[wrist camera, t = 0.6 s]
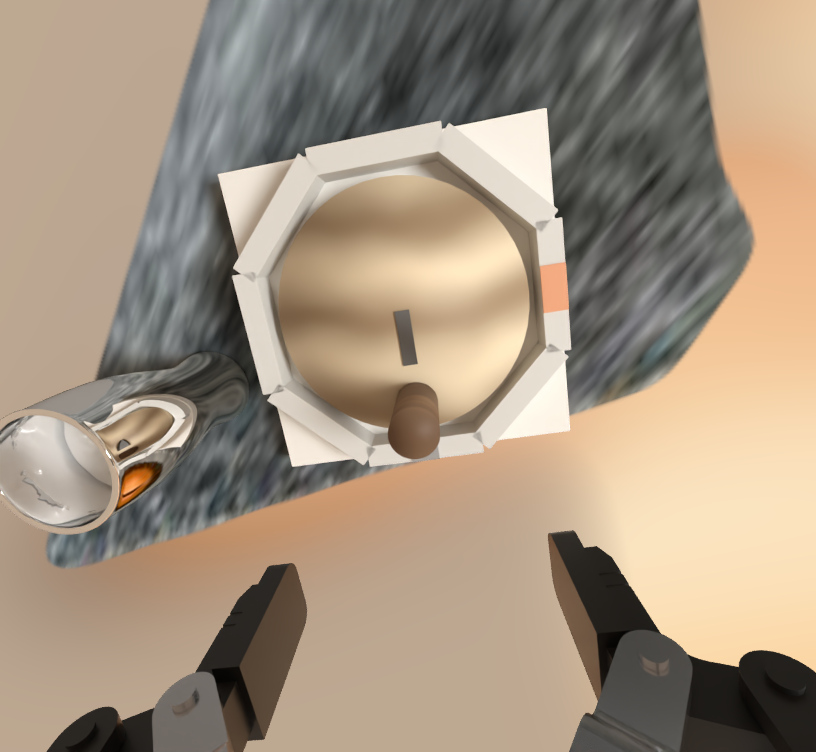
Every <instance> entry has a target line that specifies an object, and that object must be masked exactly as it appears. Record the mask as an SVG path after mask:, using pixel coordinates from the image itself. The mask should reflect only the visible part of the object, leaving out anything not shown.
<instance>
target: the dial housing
mask: <svg viewBox="0 0 816 752" xmlns="http://www.w3.org/2000/svg"><path fill="white" fill-rule="evenodd" d="M305 151H306V157H303V156H301V155H300V154H299V153H298V155H297V157H296V158H295V159H291V160H286V161H281V162H276V163H271V164H266V165H261V166H256V167H251V168H246V169H241V170H237V171H232V172H227V173H222V174H218V177H219V181H220V185H221V189H222V193H223V197H224V201H225V204H226V208H227V212H228V216H229V220H230V224H231V228H232V232H233V236H234V240H235V244H236V248H237V252H238V255H239V258H238V260H237V262H236V263H235V265H234V267H233V269H235V270H236V271H238V272H239V273H240V274H239V275H233V276H232V278H233V282H234V286H235V290H236V293H237V297H238V301H239V305H240V309H241V312H242V316H243V320H244V324H245V328H246V332H247V335H248V339H249V343H250V347H251V351H252V354H253V358H254V362H255V366H256V370H257V374H258V377H259V381H260V385H261V389H262V393H263V395H266V394H271V396H270V397H269V399H268V400H267V401H269V402H270V403H272V404H273V405H275V406H276V407H277V408H278V412H279V416H280V420H281V424H282V428H283V432H284V436H285V440H286V444H287V448H288V451H289V455H290V459H291V463H292V467H294V466H302V465H310V464H317V463H325V462H333V461H340V460H348V459H355V460H357V461H358V462H360V463H361V464H362V465H364V464H365V462H366V461H367V460H368V459H369V464H370V467H372V466H380V465H388V464H395V463H403V462H411V461H413V462H417V461H425V460H432V459H439V458H443V457H450V456H458V455H466V454H474V453H481V452H484V450H483V444H484V445H485V446H486V447H488V448H489V449H490V448H491V447H492V446H493V445H494V444H495V442H496V441H497V440H503V439H510V438H518V437H526V436H533V435H541V434H549V433H557V432H564V431H570V423H569V409H568V395H567V381H566V368H565V360H566V359H567V358H568V356H567V355H566V354H564V350H571V340H570V325H569V311H568V309H569V302H568V287H567V273H566V262H565V253H564V238H563V223H562V217H561V218H556V219H555V217H554V215H555V214H556V212H557V211H558V209H557V208H555V207H554V203H553V189H552V176H551V162H550V148H549V134H548V121H547V108H544V109H539V110H534V111H529V112H524V113H519V114H514V115H509V116H504V117H499V118H494V119H489V120H484V121H479V122H474V123H469V124H465V125H460V126H455V127H454V126H453V125H451V124H450V123H449V124H448V125H447V127H446V128H445V129H442V126H441V121H437V122H432V123H427V124H422V125H418V126H413V127H408V128H403V129H398V130H393V131H388V132H383V133H378V134H373V135H368V136H364V137H359V138H354V139H349V140H344V141H339V142H334V143H329V144H324V145H319V146H314V147H310V148H305ZM394 175H415V176H421V177H427V178H433V179H436V180H439V181H442V182H445V183H448V184H451V185H453V186H455V187H457V188H459V189H461V190H463V191H465V192H467V193H468V194H470V195H471V196H473V197H474V198H476V199H477V200H479V201H480V202H481V203H482V204H483V205H485V206H486V207H487V208H488V209H489V210H490V211H491V212H492V213H493V214H494V215H495V216H496V217H497V218H498V220H499V221H500V222H501V223H502V224H503V225H504V227H505V228H506V230H507V231H508V233H509V234H510V236H511V238H512V239H513V241H514V243H515V245H516V247H517V249H518V251H519V254H520V256H521V258H522V261H523V265H524V268H525V271H526V275H527V281H528V288H529V307H530V309H529V318H528V326H527V330H526V335H525V339H524V342H523V345H522V347H521V350H520V353H519V355H518V358H517V359H516V361H515V363H514V365H513V367H512V369H511V371H510V372H509V373H508V375H507V376H506V378H505V379H504V380H503V382H502V383H501V384H500V385H499V387H498V388H497V389H496V390H495V391H494V392H493V393H492V394H491V395H490V396H489V397H488V398H487V399H485V400H484V401H483V402H482V403H481V404H479V405H478V406H477V407H475V408H473V409H472V410H470V411H469V412H467V413H466V414H464V415H462V416H460V417H458V418H455V419H453V420H451V421H448V422H445V423H442V424H439V425H440V440H439V444H438V446H437V448H436V449H435V450H434V451H433V452H432V453H431V454H430V455H428V456H426V457H424V458H421V459H408V458H405V457H402V456H400V455H399V454H397V453H396V452H395V451H394V450H393V448H392V447H391V445H390V443H389V440H388V429H389V428H384V427H378V426H374V425H371V424H368V423H364V422H361V421H359V420H357V419H354V418H352V417H350V416H348V415H346V414H344V413H343V412H341V411H339V410H338V409H336V408H334V407H333V406H332V405H330V404H329V403H328V402H326V401H325V400H324V399H323V398H321V397H320V396H319V395H318V394H317V393H316V392H315V391H314V390H313V389H312V388H311V386H310V385H309V384H308V383H307V381H306V380H305V379H304V378H303V376H302V375H301V373H300V372H299V370H298V369H297V367H296V365H295V364H294V362H293V360H292V358H291V355H290V353H289V351H288V349H287V346H286V343H285V340H284V337H283V333H282V329H281V323H280V318H279V303H278V297H279V285H280V279H281V274H282V269H283V265H284V263H285V260H286V257H287V254H288V251H289V249H290V247H291V245H292V243H293V241H294V239H295V237H296V235H297V234H298V233H299V231H300V230H301V228H302V227H303V225H304V224H305V223H306V221H307V220H308V219H309V218H310V217H311V216H312V215H313V214H314V213H315V211H316V210H317V209H318V208H319V207H321V206H322V205H323V204H324V203H326V202H327V201H328V200H329V199H330V198H332V197H333V196H335V195H337V194H338V193H340V192H342V191H343V190H345V189H347V188H349V187H351V186H354V185H356V184H358V183H361V182H363V181H367V180H371V179H375V178H378V177H385V176H394Z"/></svg>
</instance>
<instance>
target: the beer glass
mask: <svg viewBox="0 0 816 752" xmlns="http://www.w3.org/2000/svg"><path fill="white" fill-rule="evenodd" d="M248 398H249V384H248V381H247V378H246V375H245V374H244V372H243V370H242V369H241V368H240V366H239V365H238V364H237V363H236V362H235V361H233V360H232V359H231V358H229V357H227V356H225V355H223V354H220V353H217V352H200V353H196V354H194V355H192V356H190V357H188V358H187V359H185V360H184V361H183V362H181V363H180V364H179V365H177V366H176V367H174V368H170V369H164V370H155V371H145V372H136V373H128V374H123V375H117V376H111V377H107V378H103V379H100V380H96V381H93V382H89V383H86V384H83V385H81V386H78V387H75V388H73V389H70V390H67V391H64V392H62V393H60V394H57V395H55V396H52V397H50V398H48V399H45V400H43V401H41V402H39V403H36V404H34V405H32V406H30V407H27V408H25V409H23V410H19V411H16V412H13V413H11V414H9V415H7V416H5V417H3V418H2V419H1V420H0V500H1V502H2V503H3V504H4V505H5V506H6V507H7V508H8V509H9V510H10V511H11V512H12V513H13V514H15V515H16V516H17V517H19V518H20V519H21V520H23V521H25V522H26V523H28V524H30V525H32V526H34V527H36V528H39V529H41V530H44V531H47V532H51V533H57V534H78V533H83V532H87V531H89V530H92V529H94V528H96V527H98V526H99V525H101V524H102V523H103V522H105V521H106V520H107V519H108V518H110V517H111V516H113V515H115V514H116V513H118V512H119V511H121V510H123V509H124V508H126V507H127V506H129V505H130V504H132V503H133V502H135V501H136V500H138V499H140V498H141V497H143V496H144V495H145V494H147V493H148V492H149V491H151V490H152V489H154V488H155V487H156V486H158V485H159V484H160V483H161V482H163V481H164V480H165V479H166V478H167V477H168V476H170V475H171V474H172V473H173V472H174V471H175V470H176V469H177V468H178V467H179V466H180V465H181V464H182V463H183V462H184V461H185V460H186V459H187V458H188V457H189V455H190V454H191V453H192V452H193V450H194V449H195V448H196V447H197V446H198V444H199V443H200V442H201V440H202V439H203V438H204V437H205V435H206V434H207V433H208V432H209V431H210V430H211V429H212V428H213V427H215V426H217V425H220V424H222V423H225V422H228V421H230V420H232V419H234V418H235V417H237V416H238V415H239V414H240V413H241V412H242V411H243V410H244V408H245V406H246V404H247V402H248Z"/></svg>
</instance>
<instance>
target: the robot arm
mask: <svg viewBox="0 0 816 752" xmlns="http://www.w3.org/2000/svg"><path fill="white" fill-rule="evenodd" d="M548 541H549V551H550V560H551V569H552V577H553V583H554V588H555V591H556V595H557V598H558V601H559V603H560V606H561V609H562V611H563V614H564V616H565V619H566V621H567V624H568V626H569V629H570V631H571V634H572V636H573V639H574V642H575V644H576V646H577V649H578V651H579V654H580V657H581V659H582V662H583V664H584V667H585V669H586V672H587V675H588V677H589V680H590V682H591V685H592V687H593V690H594V692H595V695H596V697H597V700H598V703H597V706H596V709H595V711H594V713H593V714H592V715H591V714H590V713H586V714H585V715H584V716H583V718H582V719H581V721H580V724H579V726H578V729H577V732H576V735H575V737H574V740H573V743H572V746H571V748H570V751H569V752H816V673H815V672H814V671H813V670H812V669H810V668H809V667H807V666H806V665H804V664H803V663H801V662H799V661H797V660H795V659H793V658H791V657H788V656H786V655H783V654H780V653H776V652H771V651H763V650H759V651H752V652H749V653H747V654H745V655H744V656H743V657H742V658H741V659H740V662H739V667H735V666H730V665H725V664H720V663H714V662H708V661H705V660H701V659H698V658H695V657H692V656H690V655H688V654H687V653H686V652H685V651H684V650H683V648H682V647H681V646H679V645H678V644H677V643H676V642H675V641H673V640H672V639H670V638H668V637H667V636H665V635H662V634H661V633H660V632H659V630H658V629H657V627H656V625H655V624H654V622H653V621H652V619H651V618H650V616H649V615H648V613H647V612H646V610H645V608H644V607H643V605H642V604H641V602H640V601H639V599H638V597H637V596H636V595H635V593H634V591H633V590H632V588H631V587H630V586H629V584H628V582H627V581H626V579H625V577H624V576H623V575H622V574H621V571H620V570H619V568H618V566H617V565H616V563H615V562H614V560H613V559H612V557H611V556H609V555H608V554H606V553H605V552H604V551H602V550H601V549H600V548H598V547H597V546H595V547H586V548H584V547H583V545H582V543H581V542H580V540H579V538H578V536H577V534H576V533H575V532H574V531H573V530H572V531H564V532H556V533H549V534H548ZM306 616H307V607H306V601H305V598H304V594H303V591H302V587H301V583H300V580H299V576H298V572H297V569H296V567H295V565H294V564H292V563H289V564H281V565H272V566H269V567H268V568H267V570H266V571H265V573H264V575H263V576H262V578H261V580H260V582H259V584H257V585H252V586H251V587H250V588H249V589H248V590H247V591H246V592H245V593H244V594H243V595H242V596H241V597H240V598H239V599H238V601H237V602H236V604H235V606H234V608H233V609H232V611H231V613H230V616H228V618H227V619H226V621H225V623H224V625H223V628H221V630H220V631H219V633H218V635H217V636H216V638H215V640H214V642H213V643H212V645H211V647H210V648H209V650H208V652H207V653H206V655H205V657H204V658H203V660H202V662H201V664H200V665H199V667H198V669H197V670H196V672H195V673H193V674H190V675H188V676H186V677H184V678H182V679H181V680H179V681H178V682H176V683H175V684H174V685H172V686H171V687H170V688H169V689H168V690H167V691H166V692H165V693H164V694H163V695H162V697H161V698H160V699H159V701H158V703H157V704H156V706H155V708H153V709H150V710H148V711H145V712H143V713H140V714H138V715H135V716H132V717H130V718H127V719H125V720H122V721H121V719H120V717H119V714H118V712H117V711H116V710H115V709H114V708H112V707H102V708H98V709H95V710H93V711H91V712H89V713H87V714H85V715H84V716H82V717H80V718H79V719H78V720H76V721H75V722H73V723H72V724H71V725H70V726H69V727H67V728H66V729H65V730H64V731H63V732H62V733H61V734H60V735H59V736H58V738H57V739H56V740H55V741H54V743H53V744H52V745H51V747H50V748H49V749H48V750H47V752H243V750H244V748H245V746H246V743H247V741H251V740H263V739H265V736H266V733H267V730H268V727H269V725H270V721H271V719H272V716H273V713H274V710H275V708H276V705H277V702H278V699H279V697H280V694H281V691H282V688H283V685H284V682H285V680H286V677H287V674H288V671H289V669H290V666H291V663H292V660H293V657H294V655H295V652H296V649H297V646H298V643H299V640H300V637H301V635H302V632H303V629H304V626H305V623H306Z"/></svg>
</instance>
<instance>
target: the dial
mask: <svg viewBox="0 0 816 752" xmlns="http://www.w3.org/2000/svg"><path fill="white" fill-rule="evenodd" d="M278 303H279V318H280V323H281V329H282V333H283V337H284V340H285V343H286V346H287V349H288V351H289V353H290V355H291V358H292V360H293V362H294V364H295V365H296V367H297V369H298V370H299V372H300V373H301V375H302V376H303V378H304V379H305V380H306V381H307V383H308V384H309V385H310V386H311V388H312V389H313V390H314V391H315V392H316V393H317V394H318V395H319V396H320V397H321V398H323V399H324V400H325V401H326V402H328V403H329V404H330V405H332V406H333V407H334V408H336V409H338V410H339V411H341V412H343V413H344V414H346V415H348V416H350V417H352V418H354V419H357V420H359V421H361V422H364V423H368V424H371V425H374V426H378V427H384V428H389V429H388V440H389V443H390V445H391V447H392V448H393V450H394V451H395V452H396V453H397V454H399V455H400V456H402V457H405V458H408V459H421V458H424V457H426V456H428V455H430V454H431V453H432V452H433V451H434V450H435V449H436V448H437V446H438V444H439V440H440V425H439V424H442V423H445V422H448V421H451V420H453V419H455V418H458V417H460V416H462V415H464V414H466V413H467V412H469V411H470V410H472V409H473V408H475V407H477V406H478V405H479V404H481V403H482V402H483V401H484V400H485V399H487V398H488V397H489V396H490V395H491V394H492V393H493V392H494V391H495V390H496V389H497V388H498V387H499V385H500V384H501V383H502V382H503V380H504V379H505V378H506V376H507V375H508V373H509V372H510V371H511V369H512V367H513V365H514V363H515V361H516V359H517V358H518V355H519V353H520V350H521V347H522V345H523V342H524V339H525V335H526V330H527V326H528V318H529V309H530V307H529V288H528V281H527V275H526V271H525V268H524V265H523V261H522V258H521V256H520V254H519V251H518V249H517V247H516V245H515V243H514V241H513V239H512V238H511V236H510V234H509V233H508V231H507V230H506V228H505V227H504V225H503V224H502V223H501V222H500V221H499V220H498V218H497V217H496V216H495V215H494V214H493V213H492V212H491V211H490V210H489V209H488V208H487V207H486V206H485V205H483V204H482V203H481V202H480V201H479V200H477V199H476V198H474V197H473V196H471V195H470V194H468V193H467V192H465V191H463V190H461V189H459V188H457V187H455V186H453V185H451V184H448V183H445V182H442V181H439V180H436V179H433V178H427V177H421V176H415V175H394V176H385V177H378V178H375V179H371V180H367V181H363V182H361V183H358V184H356V185H354V186H351V187H349V188H347V189H345V190H343V191H342V192H340V193H338V194H337V195H335V196H333V197H332V198H330V199H329V200H328V201H327V202H326V203H324V204H323V205H322V206H321V207H319V208H318V209H317V210H316V211H315V213H314V214H313V215H312V216H311V217H310V218H309V219H308V220H307V221H306V223H305V224H304V225H303V227H302V228H301V230H300V231H299V233H298V234H297V235H296V237H295V239H294V241H293V243H292V245H291V247H290V249H289V251H288V254H287V257H286V260H285V263H284V265H283V269H282V274H281V279H280V285H279V297H278Z"/></svg>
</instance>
